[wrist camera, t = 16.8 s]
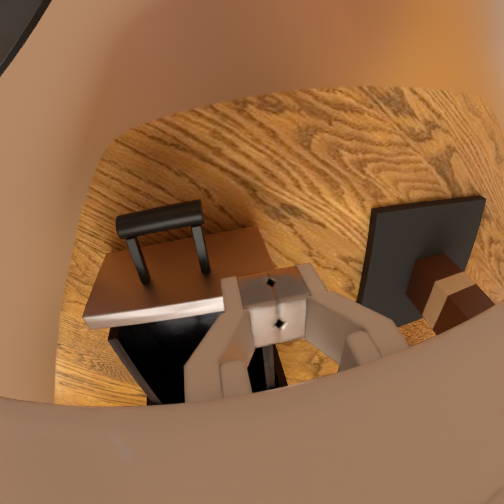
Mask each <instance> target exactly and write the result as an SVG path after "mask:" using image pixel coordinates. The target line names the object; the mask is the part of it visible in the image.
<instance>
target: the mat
mask: <svg viewBox="0 0 504 504" xmlns="http://www.w3.org/2000/svg"><path fill="white" fill-rule="evenodd" d="M485 202H486V199H485V198H484V197H482V196H475V197H465V198H456V199H447V200H438V201H430V202H421V203H413V204H405V205H397V206H390V207H382V208H374V209H372V213H371V221H370V229H369V236H368V243H367V250H366V256H365V262H364V268H363V274H362V279H361V285H360V290H359V295H358V300H357V303H358V304H360V305H362V306H364V307H366V308H369V309H371V310H373V311H375V312H377V313H379V314H381V315H383V316H385V317H387V318H389V319H391V320H392V321H393V322H394V323H395V325H396V326H397V327H400V326H402V325H405V324H408V323H410V322H413V321H416V320H418V319H421V318H423V316H422V315H421V314H420V312H419V311H418V310H417V308H416V307H415V306H414V305H413V303H412V302H411V301H410V299H409V298H408V297H407V296H406V291H407V288H408V284H409V281H410V278H411V274H412V271H413V268H414V264H415V261H416V260H420V259H424V258H428V257H431V256H435V255H439V254H442V253H445V254H446V255H447V256H448V257H449V258H450V259H451V260H452V261H453V262H454V263H455V264H456V265H457V266H458V267H459V268H461V269H462V270H463V271H465V268H466V265H467V263H468V260H469V257H470V254H471V251H472V248H473V245H474V242H475V239H476V236H477V232H478V229H479V225H480V222H481V218H482V214H483V211H484V207H485Z"/></svg>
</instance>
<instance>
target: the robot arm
mask: <svg viewBox="0 0 504 504" xmlns="http://www.w3.org/2000/svg"><path fill="white" fill-rule="evenodd" d="M236 277H237V278H236ZM221 288H222V296H223V303H224V310H225V313H220V315H219V316H218V318H217V319H216V321H215V322H214V324H213V325H212V326H211V328H210V329H209V331H208V332H207V334H206V335H205V337H204V338H203V340H202V341H201V342H200V344H199V345H198V347H197V348H196V350H195V351H194V353H193V354H192V356H191V357H190V358H189V360H188V361H187V363H186V364H185V366H184V390H185V403H178V404H166V405H151V406H123V407H101V406H74V405H59V404H48V403H38V402H31V401H23V400H16V399H10V398H5V397H0V504H504V300H503V301H501V302H499V303H498V304H496V305H494V306H492V307H491V308H489V309H487V310H485V311H484V312H482V313H480V314H478V315H476V316H475V317H473V318H471V319H469V320H467V321H465V322H463V323H461V324H459V325H457V326H455V327H453V328H451V329H449V330H447V331H445V332H443V333H441V334H438V335H436V336H434V337H432V338H430V339H427V340H425V341H423V342H420V343H418V344H416V345H413V346H411V347H410V346H409V344H408V343H407V341H406V340H405V338H404V337H403V335H402V334H401V332H400V331H399V329H398V328H397V326H396V325H395V323H394V322H393V321H392V320H391V319H389V318H387V317H385V316H383V315H381V314H379V313H377V312H375V311H373V310H371V309H369V308H366V307H364V306H362V305H360V304H358V303H356V302H354V301H352V300H350V299H348V298H346V297H344V296H342V295H340V294H338V293H335V292H333V291H330V292H328V291H327V289H326V287H325V286H324V284H323V282H322V281H321V279H320V277H319V276H318V274H317V272H316V271H315V269H314V267H313V266H312V264H311V263H309V262H308V263H304V264H299V265H295V266H292V267H287V268H282V269H276V270H271V271H264V272H258V273H252V274H245V275H239V276H233V277H227V278H221ZM300 338H305V339H306V340H307V341H309V342H310V343H311V344H313V345H314V346H315V347H317V348H318V349H319V350H321V351H322V352H323V353H324V354H326V355H327V356H328V357H330V358H331V359H332V360H334V361H335V362H336V363H338V364H339V369H338V373H335V374H331V375H328V376H324V377H321V378H317V379H313V380H309V381H306V382H302V383H298V384H293V385H289V386H285V387H280V388H276V389H271V390H266V391H261V392H256V393H252V389H251V385H250V380H249V376H248V371H247V367H248V365H249V362H250V360H251V358H252V355H253V353H254V351H255V348H258V347H263V346H267V345H272V344H276V343H280V342H285V341H290V340H295V339H300Z"/></svg>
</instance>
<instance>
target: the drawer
mask: <svg viewBox="0 0 504 504" xmlns="http://www.w3.org/2000/svg"><path fill="white" fill-rule="evenodd" d="M202 224H204V215H203V208H202V203H201V200H200V199H198V200H192V201H187V202H182V203H176V204H171V205H166V206H161V207H156V208H151V209H146V210H142V211H137V212H132V213H128V214H123V215H119V216H117V218H116V230H117V234H118V236H119V238H120V239H126V243H127V245H128V248H129V249H127V250H122V251H117V252H112V253H107V254H106V257H105V259H104V261H103V264H102V266H101V268H100V271H99V273H98V276H97V278H96V281H95V283H94V286H93V288H92V291H91V294H90V296H89V299H88V302H87V305H86V307H85V310H84V313H83V316H82V317H83V319H84V321H85V323H86V324H87V326H88V327H89V329H100V328H110V332H109V336H108V341H109V343H110V344H111V346H112V348H113V349H114V351H115V352H116V354H117V355H118V356H119V358H120V359H121V361H122V362H123V364H124V365H125V366H126V368H127V369H128V371H129V372H130V373H131V375H132V376H133V378H134V379H135V380H136V382H137V383H138V384H139V386H140V387H141V388H142V389H143V391H144V392H145V393H146V395H147V396H148V397H149V398H150V400H151V401H152V402H153V403H154V404H155V405H166V404H178V403H185V390H184V366H185V364H186V363H187V361H188V360H189V358H190V357H191V356H192V354H193V353H194V351H195V350H196V348H197V347H198V345H199V344H200V342H201V341H202V340H203V338H204V337H205V335H206V334H207V332H208V331H209V329H210V328H211V326H212V325H213V324H214V322H215V321H216V319H217V318H218V316H219V315H220V313H225V310H224V303H223V296H222V288H221V278H227V277H233V276H239V275H245V274H252V273H258V272H264V271H271V270H275V268H274V265H273V263H272V260H271V258H270V256H269V253H268V251H267V248H266V246H265V244H264V241H263V239H262V236H261V234H260V232H259V229H258V227H257V226H256V227H250V228H244V229H238V230H232V231H226V232H220V233H214V234H209V235H204V234H203V229H202ZM189 226H191V230H192V234H193V237H192V238H186V239H180V240H175V241H170V242H164V243H159V244H153V245H148V246H143V247H140V244H139V241H138V238H137V236H141V235H146V234H151V233H156V232H162V231H167V230H172V229H178V228H183V227H189ZM236 278H237V277H236ZM247 371H248V376H249V380H250V385H251V389H252V393H256V392H261V391H266V390H271V389H275V374H274V356H273V344H272V345H267V346H263V347H258V348H255V351H254V353H253V355H252V358H251V360H250V362H249V365H248V367H247Z"/></svg>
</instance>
